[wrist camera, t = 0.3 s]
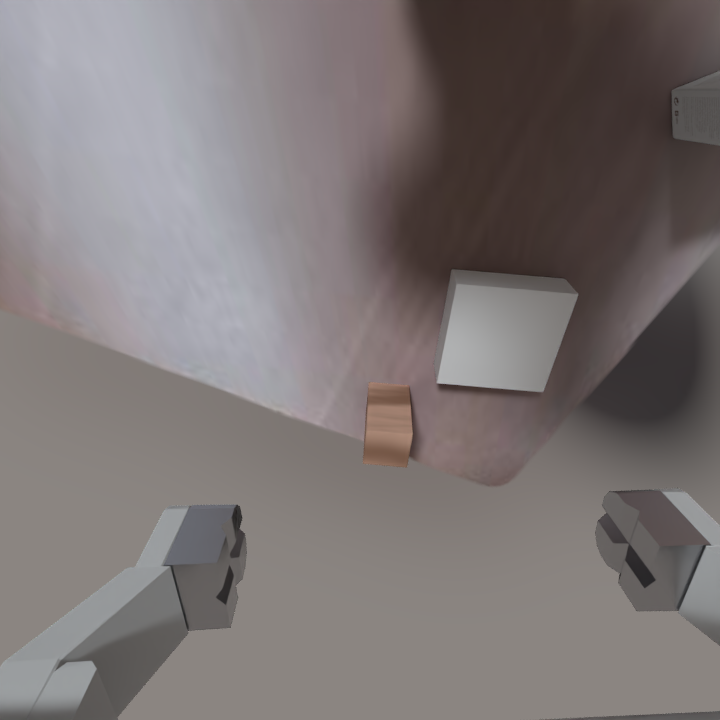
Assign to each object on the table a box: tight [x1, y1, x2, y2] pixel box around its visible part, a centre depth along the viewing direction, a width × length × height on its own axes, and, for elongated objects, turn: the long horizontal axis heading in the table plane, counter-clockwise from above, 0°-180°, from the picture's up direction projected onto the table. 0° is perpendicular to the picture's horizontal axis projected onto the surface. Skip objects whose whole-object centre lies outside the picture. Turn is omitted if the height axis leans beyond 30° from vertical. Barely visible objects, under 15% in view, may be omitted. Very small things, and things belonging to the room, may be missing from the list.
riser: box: [434, 269, 579, 392], centre depth 49 cm, size 12×12×4 cm
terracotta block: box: [363, 382, 413, 467], centre depth 53 cm, size 5×5×9 cm
